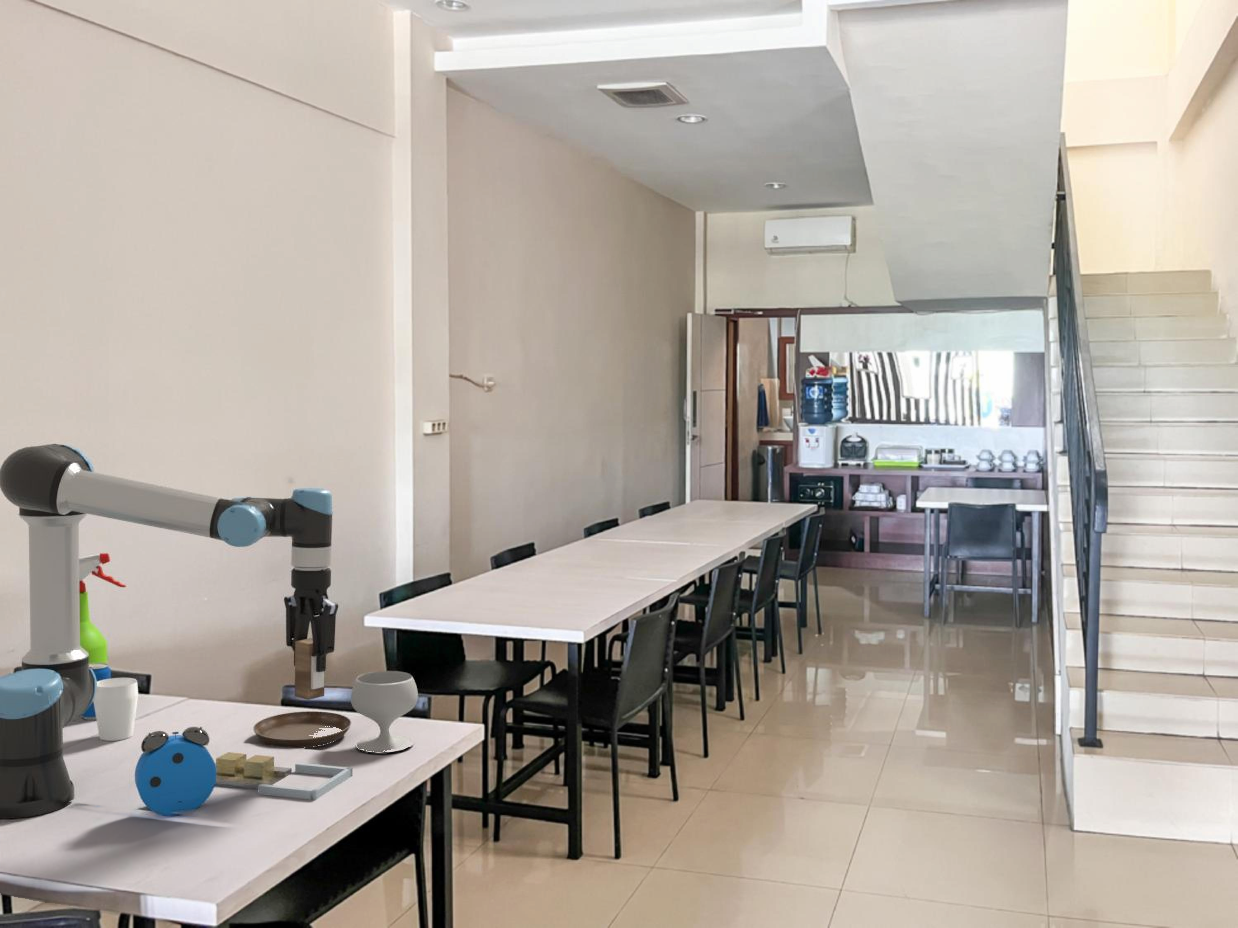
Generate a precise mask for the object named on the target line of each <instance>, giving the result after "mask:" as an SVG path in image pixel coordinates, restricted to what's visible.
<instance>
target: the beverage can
mask: <svg viewBox="0 0 1238 928" xmlns="http://www.w3.org/2000/svg"><path fill="white" fill-rule="evenodd" d="M89 667H90V669H92V670H93V672H94V674H95V676H96V680H97V681H100V680H105V679H111V678H112V677H111V675H112V672H111V671H112V670H111V668H110V667H109V663H108V664H106V663H92V664H89ZM81 717H82V718H84V720H88V721H89V720H90V721H97V719H96V713H95V707H94V701H93V702H92V704H91V705H90V706H89V708H88V709H87V711H86V712H85V713H84V714H82V716H81Z"/></svg>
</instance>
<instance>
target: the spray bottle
mask: <svg viewBox="0 0 1238 928" xmlns="http://www.w3.org/2000/svg"><path fill="white" fill-rule="evenodd" d="M110 561H111V559H110V555H109V553H107V552H105V553H104V552H103V553H97V554H91V555H86V556H81V557H80V556H79V602H80V646H81V647H82V648H83V649H84V650H86V651H87V652H88V654H89V664H92V663H106V664H108V665H109V663H108V641H107V640H106V639H105V637H104V635H102V633H101V631H100V630H99V629H98V627H96V626H95V625H94V624H93V623H92V622H91V621H90V609H89V608H90V607H89V592H88V591H87V589H86V588H87V587H86V583H85V582H84V579H86V578H87V577H88V576H90V575H92V576H94V577H97V578H99V579H102V580H104V581H106V582H109V583H111V584H112V585H115V586H116V587H119V588H126V587H127V585H126V584H122V583H121V582H120V581H119V580H115V579H114V578H113V576H111V575H106V574H105V573H104V571H103V567H102V566H103V565H105V564H106V563H110ZM101 565H102V566H101Z"/></svg>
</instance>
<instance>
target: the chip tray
mask: <svg viewBox="0 0 1238 928" xmlns="http://www.w3.org/2000/svg"><path fill="white" fill-rule="evenodd" d="M294 766H295V769H294V772H295V773H301V774H309V775H310V774H312V775H320V776H322V775H323V776H331V777H330V778H329V779H327V780H326V781H324V782H322V783H321V784H320V785H318V786H316V787H315V788H305V787H297V786H296V787H295V786H286V785H285V786H284V785H278V784H277V785H275V784H273V785H268V784H260V785H258V790H257V794H258V795H268V796H275V797H285V798H295V799H301V800H302V799H303V800H311V801H317V800H319V798H322V797H323V796H324V795H326V794H327V793H329V792H330V791H332V790H333V789H335V788H336V787H338V786H339V785H341V784H342V783H345V782H346V781H347V780H348V779H350V778H351V777H353V767H344V766H333V765H327V764H326V765H325V764H324V765H323V764H315V763H304V762H296V763H295V764H294Z"/></svg>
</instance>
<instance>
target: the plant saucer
mask: <svg viewBox="0 0 1238 928" xmlns="http://www.w3.org/2000/svg"><path fill="white" fill-rule="evenodd" d="M351 725H352V721H351V719H350V718H349V717H347V716H346V715H344V714H343V715H342V714H339V713H336V712H335V713H334V712H328V711H311V710H310V711H309V710H306V711H295V712H294V711H293V712H286V713H285V712H284V713H281V714H280V713H279V714H275V715H273V716H272V715H271V716H268V717H266V718H263V719H262V720H259V721H258V722H256V723H255V724H254V726H253V728H252V729H253V732H254V733H255V735H256V736H257V738H258V739H259V740H261V741H262V742H263V743H264V744H265V745H268V746H273V747H282V748H292V749H293V748H294V749H302V748H304V747H313V746H318V745H323V744H327V743H330V742H333V741H335V740H337V741H338V739H339V740H340V739H341V738H343V737H344V736H345V735H346V733H347V732H348V731H349V729H350V728H351ZM325 726H326V727H325ZM327 726H328V727H327ZM329 726H330V727H329ZM333 727H336V728H339V729H341V730H342V731H340V732H337V733H334V734H331V735H327V736H322V737H316V738H315V737H314V738H313V736H309V735H314V733H318V731H321V730H322V729H319V728H333ZM316 731H317V732H316ZM322 731H323V730H322ZM324 731H325V730H324ZM316 735H317V734H316ZM335 742H336V741H335ZM333 743H334V742H333Z"/></svg>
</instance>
